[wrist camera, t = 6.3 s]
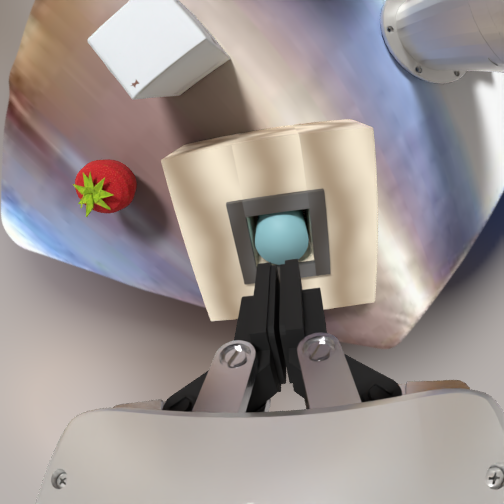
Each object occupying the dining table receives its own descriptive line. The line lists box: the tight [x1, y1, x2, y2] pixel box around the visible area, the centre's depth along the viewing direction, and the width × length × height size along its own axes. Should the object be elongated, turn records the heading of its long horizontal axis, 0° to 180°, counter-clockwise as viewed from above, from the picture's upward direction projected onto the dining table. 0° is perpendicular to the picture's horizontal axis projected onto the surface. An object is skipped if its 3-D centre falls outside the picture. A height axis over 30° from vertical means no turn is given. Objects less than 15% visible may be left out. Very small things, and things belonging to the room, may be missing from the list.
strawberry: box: [73, 160, 137, 217], centre depth 31 cm, size 6×8×10 cm
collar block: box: [161, 119, 378, 321], centre depth 32 cm, size 19×19×9 cm
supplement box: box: [88, 0, 230, 99], centre depth 22 cm, size 7×7×13 cm
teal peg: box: [255, 209, 309, 265], centre depth 32 cm, size 5×5×7 cm
